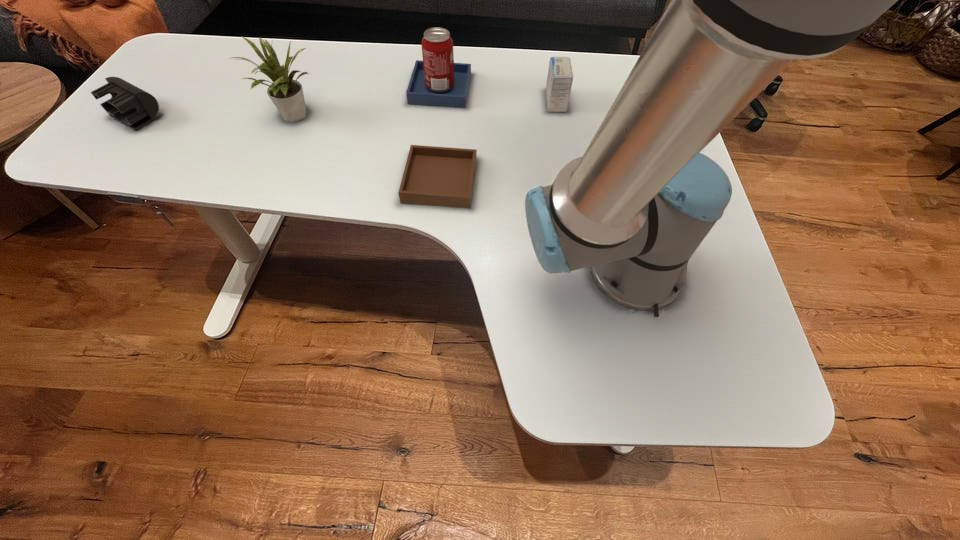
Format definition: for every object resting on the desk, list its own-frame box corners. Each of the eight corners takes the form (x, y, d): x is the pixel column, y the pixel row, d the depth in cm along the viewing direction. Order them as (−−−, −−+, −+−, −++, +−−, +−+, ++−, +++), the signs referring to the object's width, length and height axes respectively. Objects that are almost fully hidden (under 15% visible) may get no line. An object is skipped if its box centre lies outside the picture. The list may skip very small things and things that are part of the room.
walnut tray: (470, 208, 81) (470, 198, 79) (400, 203, 82) (398, 192, 79) (476, 160, 89) (476, 149, 86) (412, 155, 89) (410, 144, 87)
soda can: (450, 96, 99) (448, 44, 89) (421, 92, 100) (416, 40, 90) (457, 79, 103) (456, 27, 93) (429, 75, 103) (425, 24, 94)
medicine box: (566, 112, 98) (574, 77, 91) (546, 112, 98) (552, 76, 91) (563, 91, 102) (570, 56, 95) (544, 91, 102) (550, 55, 95)
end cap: (167, 114, 95) (147, 86, 89) (137, 132, 91) (115, 104, 86) (138, 99, 98) (118, 71, 92) (108, 115, 94) (85, 87, 89)
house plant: (240, 121, 94) (202, 47, 80) (285, 88, 101) (256, 14, 87) (292, 142, 90) (260, 68, 77) (334, 106, 97) (312, 33, 84)
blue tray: (465, 108, 98) (465, 97, 96) (407, 104, 98) (406, 93, 96) (470, 74, 105) (471, 63, 103) (417, 71, 106) (415, 60, 104)
